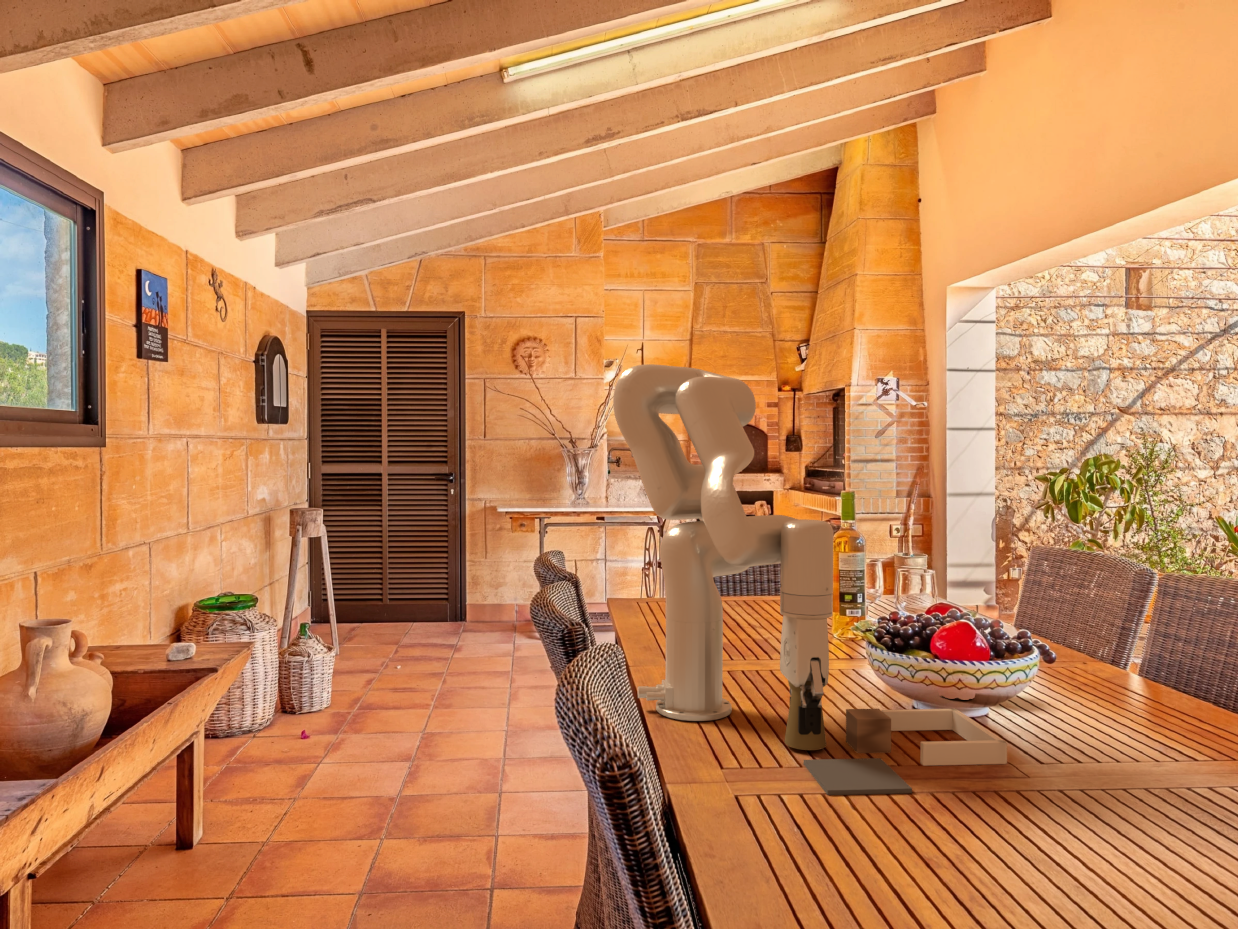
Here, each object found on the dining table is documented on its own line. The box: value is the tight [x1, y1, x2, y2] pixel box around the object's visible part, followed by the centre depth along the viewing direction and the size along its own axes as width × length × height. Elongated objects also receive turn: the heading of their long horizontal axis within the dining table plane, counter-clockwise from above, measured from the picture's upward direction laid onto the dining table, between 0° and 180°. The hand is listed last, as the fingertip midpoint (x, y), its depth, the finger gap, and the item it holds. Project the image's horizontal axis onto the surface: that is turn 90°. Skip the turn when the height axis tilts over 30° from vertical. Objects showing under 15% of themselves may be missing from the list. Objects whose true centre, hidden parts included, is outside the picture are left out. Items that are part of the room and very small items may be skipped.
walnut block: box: [845, 708, 892, 754], centre depth 130 cm, size 5×5×5 cm
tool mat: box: [803, 757, 913, 796], centre depth 118 cm, size 11×11×1 cm
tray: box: [880, 708, 1008, 766], centre depth 131 cm, size 12×16×3 cm
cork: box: [784, 677, 827, 751], centre depth 129 cm, size 6×6×11 cm
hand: (804, 727), depth 129 cm, fingers closed on cork, 4 cm apart
